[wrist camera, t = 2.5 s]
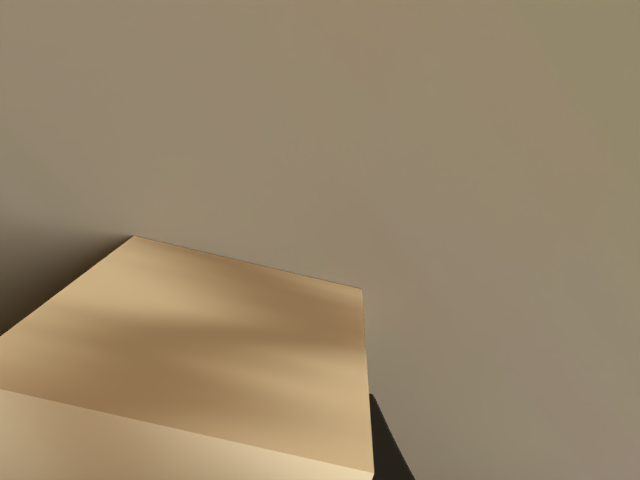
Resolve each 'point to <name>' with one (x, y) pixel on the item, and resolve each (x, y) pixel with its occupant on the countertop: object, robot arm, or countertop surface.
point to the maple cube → (187, 374)
